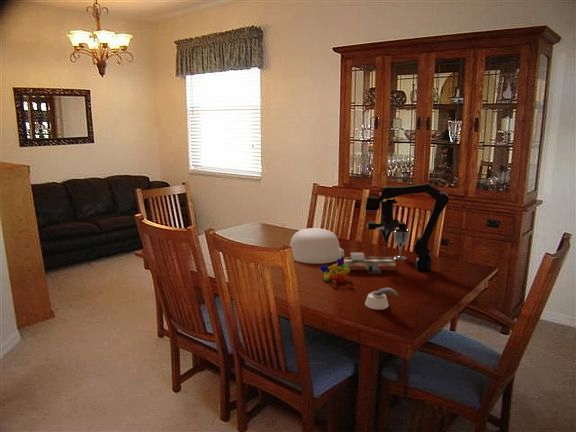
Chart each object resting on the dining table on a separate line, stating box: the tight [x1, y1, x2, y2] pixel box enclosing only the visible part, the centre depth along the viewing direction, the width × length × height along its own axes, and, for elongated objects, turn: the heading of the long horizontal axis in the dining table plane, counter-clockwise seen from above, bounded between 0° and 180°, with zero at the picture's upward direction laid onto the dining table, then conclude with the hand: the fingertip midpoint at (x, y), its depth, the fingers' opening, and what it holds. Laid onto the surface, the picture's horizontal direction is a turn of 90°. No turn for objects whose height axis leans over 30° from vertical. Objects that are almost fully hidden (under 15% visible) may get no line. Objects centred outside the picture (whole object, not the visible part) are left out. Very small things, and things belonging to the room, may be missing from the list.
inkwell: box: [364, 287, 401, 311], centre depth 176 cm, size 9×18×10 cm, turn 29°
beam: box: [343, 256, 397, 267], centre depth 222 cm, size 24×7×3 cm, turn 90°
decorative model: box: [319, 258, 351, 284], centre depth 209 cm, size 13×9×15 cm
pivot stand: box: [364, 255, 382, 275], centre depth 222 cm, size 6×11×6 cm, turn 0°
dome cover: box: [289, 227, 345, 264], centre depth 246 cm, size 32×30×14 cm
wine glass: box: [393, 228, 410, 261], centre depth 241 cm, size 8×8×15 cm
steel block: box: [350, 251, 365, 261], centre depth 222 cm, size 6×4×4 cm
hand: (385, 242), depth 227 cm, fingers closed
